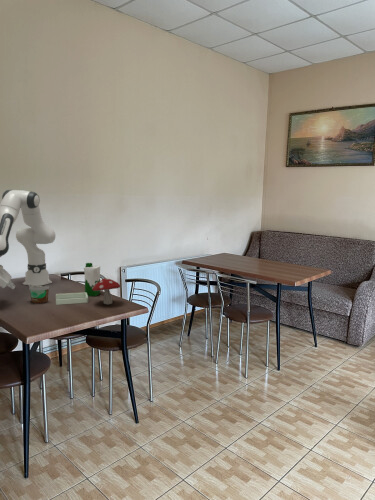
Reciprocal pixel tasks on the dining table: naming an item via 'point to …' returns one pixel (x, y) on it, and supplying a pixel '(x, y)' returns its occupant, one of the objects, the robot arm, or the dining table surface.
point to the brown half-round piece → (39, 294)
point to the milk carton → (91, 278)
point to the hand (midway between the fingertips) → (14, 287)
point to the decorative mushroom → (106, 288)
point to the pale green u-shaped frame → (74, 299)
